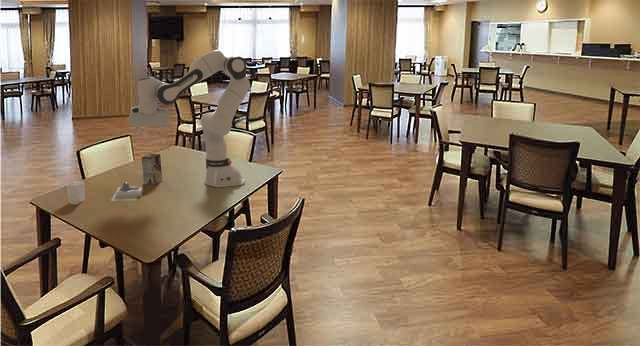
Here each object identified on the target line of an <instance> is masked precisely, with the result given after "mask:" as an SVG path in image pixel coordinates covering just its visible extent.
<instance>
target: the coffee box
mask: <svg viewBox="0 0 640 346" xmlns="http://www.w3.org/2000/svg"><path fill="white" fill-rule="evenodd" d="M161 161H162V160H161V154H160V153H148V154H147V155H144V156H142V157H141V164H142V165H141V166H142V177H143V184H144V185H156V184H158V183H163V176H162V175H163V174H162V164H161V163H162V162H161Z"/></svg>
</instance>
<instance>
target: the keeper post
mask: <svg viewBox="0 0 640 346" xmlns="http://www.w3.org/2000/svg"><path fill="white" fill-rule="evenodd" d="M121 187H123V191H128V190H129V187H130V183H128V182H127V181H126V182H123V183H122V186H121Z"/></svg>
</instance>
